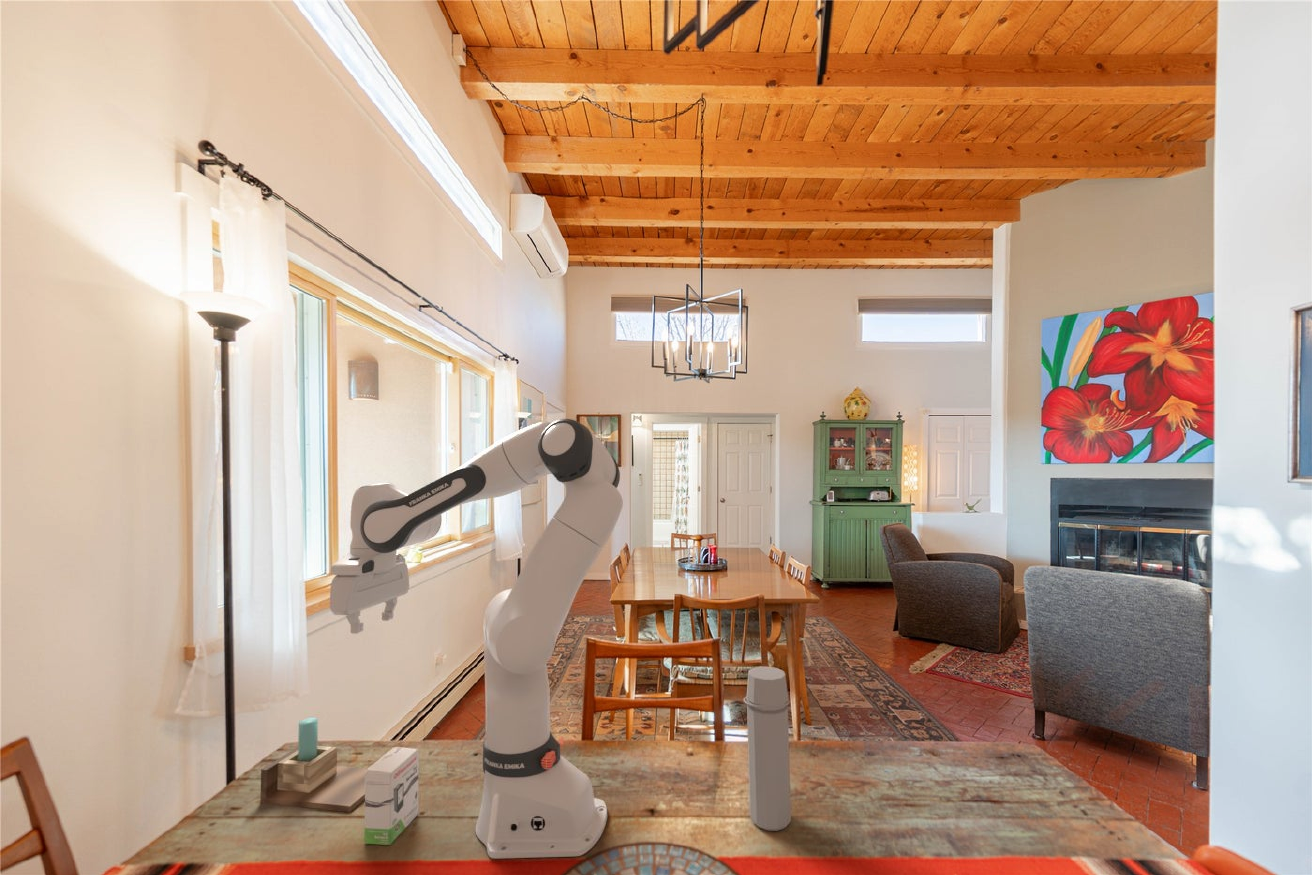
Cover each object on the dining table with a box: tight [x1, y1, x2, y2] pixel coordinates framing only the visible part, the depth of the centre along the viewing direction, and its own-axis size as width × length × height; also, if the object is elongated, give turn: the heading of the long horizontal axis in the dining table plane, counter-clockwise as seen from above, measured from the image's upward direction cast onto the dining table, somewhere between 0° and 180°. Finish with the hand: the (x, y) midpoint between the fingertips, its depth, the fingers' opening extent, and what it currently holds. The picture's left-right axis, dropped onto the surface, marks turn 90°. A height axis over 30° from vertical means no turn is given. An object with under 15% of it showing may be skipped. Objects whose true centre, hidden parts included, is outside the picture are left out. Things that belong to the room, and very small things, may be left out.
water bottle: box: [743, 666, 792, 832], centre depth 98 cm, size 9×8×25 cm
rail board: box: [260, 746, 369, 813], centre depth 108 cm, size 19×12×6 cm, turn 80°
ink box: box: [364, 746, 420, 846], centre depth 96 cm, size 9×5×12 cm, turn 172°
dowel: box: [297, 717, 319, 762], centre depth 109 cm, size 3×3×10 cm
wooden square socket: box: [277, 745, 338, 793], centre depth 109 cm, size 7×7×5 cm
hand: (372, 625), depth 117 cm, fingers open, 8 cm apart
